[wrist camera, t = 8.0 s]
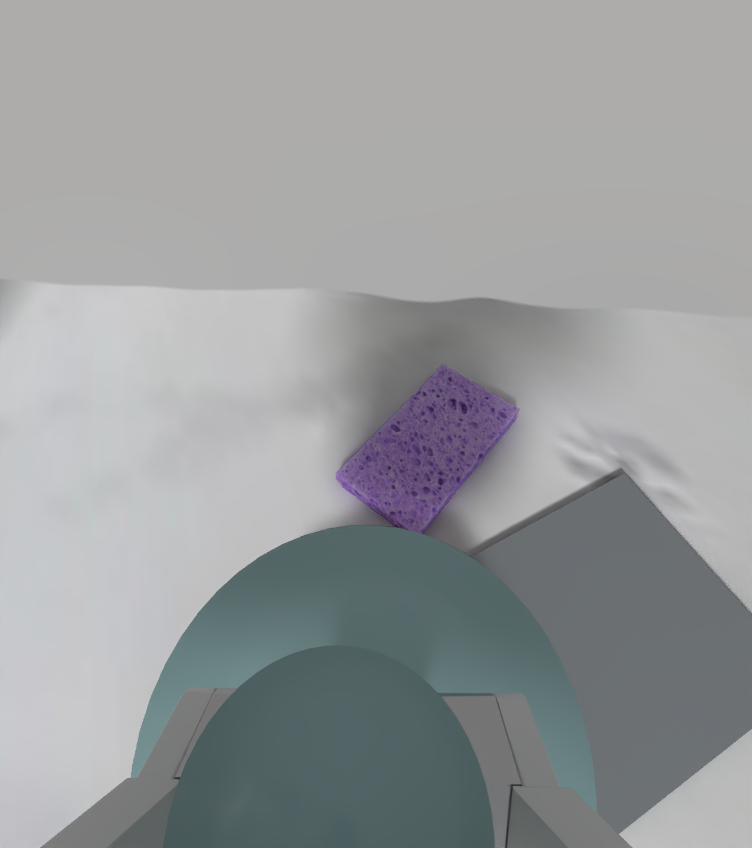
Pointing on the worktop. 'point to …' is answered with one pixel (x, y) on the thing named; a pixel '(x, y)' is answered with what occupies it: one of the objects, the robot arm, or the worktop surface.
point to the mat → (634, 640)
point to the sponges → (427, 450)
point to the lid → (356, 697)
